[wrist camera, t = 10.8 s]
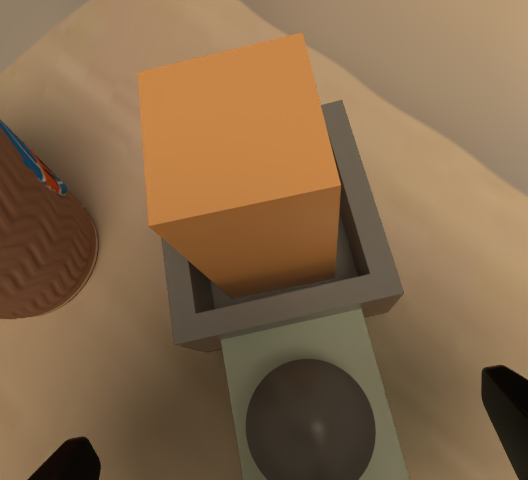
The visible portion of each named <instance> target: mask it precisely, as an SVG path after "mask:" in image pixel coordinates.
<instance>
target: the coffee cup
mask: <svg viewBox="0 0 528 480" xmlns="http://www.w3.org/2000/svg"><path fill="white" fill-rule="evenodd" d="M97 252H98V238H97V233H96V228H95V226H94V224H93V222H92V220H91V218H90V217H89V216H88V214H87V213H86V211H85V209H84V208H83V207H82V206H81V203H80V202H79V201H78V200H77V199H76V198H75V197H74V196H73V195H72V194H71V193H70V192H69V191H68V190H67V187H66V186H65V184H64V183H63V182H62V181H61V180H60V179H58V178H57V177H56V175H55V174H54V173H53V172H52V171H51V170H50V169H49V168H48V167H47V166H46V165H45V164H44V163H43V162H42V161H41V160H40V159H39V158H38V157H37V156H36V155H35V154H34V153H33V152H32V151H31V150H30V149H29V148H28V147H27V146H26V145H25V144H24V143H23V142H22V141H21V140H20V139H19V138H18V137H17V136H16V135H15V134H14V133H13V132H12V131H11V130H10V129H9V128H8V127H7V126H6V125H5V124H4V123H3V122H2V121H1V120H0V319H17V318H25V317H33V316H38V315H44V314H46V313H49V312H52V311H54V310H56V309H58V308H60V307H61V306H63V305H65V304H66V303H67V302H68V301H70V300H71V299H72V298H73V297H74V296H75V295H76V294H77V293H78V292H79V291H80V290H81V288H82V287H83V286H84V285H85V283H86V281H87V280H88V278H89V276H90V275H91V273H92V270H93V267H94V265H95V262H96V257H97Z"/></svg>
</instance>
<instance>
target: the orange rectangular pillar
mask: <svg viewBox="0 0 528 480" xmlns="http://www.w3.org/2000/svg"><path fill="white" fill-rule="evenodd" d="M138 86H139V100H140V114H141V128H142V141H143V155H144V169H145V183H146V196H147V210H148V224H149V227H150V228H152V229H153V230H154V231H155V232H156V233H157V234H158V235H160V236H161V237H162V238H163V239H164V240H165V241H166V242H168V243H169V244H170V245H171V246H172V247H173V248H174V249H176V250H177V251H178V252H179V253H180V254H181V255H182V256H184V257H185V258H186V259H187V260H188V261H189V262H190V263H192V264H193V265H194V266H195V267H196V268H197V269H198V270H200V271H201V272H202V273H203V274H204V275H205V276H206V277H208V278H209V279H210V280H211V281H212V282H213V283H215V284H216V285H217V286H218V287H219V288H220V289H221V290H223V291H224V292H225V293H226V294H227V295H228V296H229V297H231V298H232V299H233V298H238V297H243V296H249V295H254V294H259V293H264V292H269V291H274V290H280V289H285V288H290V287H295V286H300V285H306V284H311V283H316V282H321V281H326V280H331V279H335V267H336V252H337V238H338V223H339V208H340V194H341V183H340V179H339V175H338V171H337V167H336V163H335V159H334V155H333V151H332V148H331V144H330V140H329V136H328V132H327V128H326V124H325V120H324V116H323V112H322V108H321V104H320V100H319V96H318V92H317V88H316V84H315V80H314V76H313V72H312V68H311V64H310V61H309V57H308V53H307V49H306V45H305V41H304V37H303V33H299V34H294V35H290V36H286V37H282V38H278V39H274V40H270V41H266V42H261V43H257V44H253V45H249V46H245V47H241V48H237V49H233V50H228V51H224V52H220V53H216V54H212V55H208V56H204V57H200V58H196V59H191V60H187V61H183V62H179V63H175V64H171V65H167V66H163V67H159V68H154V69H150V70H146V71H142V72H138Z"/></svg>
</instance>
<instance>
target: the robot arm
mask: <svg viewBox="0 0 528 480" xmlns="http://www.w3.org/2000/svg"><path fill="white" fill-rule="evenodd" d="M481 395H482V401H483V404H484V407H485V409H486V411H487V413H488V415H489V417H490V420H491V422H492V424H493V426H494V428H495V430H496V432H497V435H498V437H499V439H500V441H501V443H502V445H503V447H504V450H505V452H506V454H507V456H508V458H509V460H510V462H511V465H512V467H513V469H514V471H515V473H516V475H517V477H518V479H519V480H528V380H527V379H526V378H524V377H522V376H521V375H519V374H518V373H516V372H514V371H513V370H511V369H509V368H508V367H506V366H503V365H496V366H491V367H485V368H483V370H482V389H481ZM100 470H101V464H100V460H99V457H98V456H97V454H96V452H95V450H94V449H93V447H92V445H91V443H90V442H89V440H88V439H87V438H86V437H78V438H72V439H68V440H67V441H65V442H64V443H63V444H62V445H61V446H60V447H59V448H58V449H57V450H56V451H55V452H54V453H53V454H52V455H51V456H50V457H49V458H48V459H47V460H46V461H45V462H44V463H43V464H42V465H41V466H40V467H39V468H38V469H37V470H36V471H35V472H34V473H33V474H32V476H31V477H30V478H29V479H28V480H99V476H100Z"/></svg>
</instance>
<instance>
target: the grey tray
mask: <svg viewBox="0 0 528 480" xmlns="http://www.w3.org/2000/svg"><path fill="white" fill-rule="evenodd" d="M321 108H322V112H323V116H324V120H325V124H326V128H327V132H328V136H329V140H330V144H331V148H332V151H333V155H334V159H335V163H336V167H337V171H338V175H339V179H340V183H341V194H340V208H339V223H338V238H337V252H336V267H335V279H331V280H326V281H321V282H316V283H311V284H306V285H300V286H295V287H290V288H285V289H280V290H274V291H269V292H264V293H259V294H254V295H249V296H243V297H238V298H233V299H232V298H231V297H229V296H228V295H227V294H226V293H225V292H224V291H223V290H221V289H220V288H219V287H218V286H217V285H216V284H215V283H213V282H212V281H211V280H210V279H209V278H208V277H206V276H205V275H204V274H203V273H202V272H201V271H200V270H198V269H197V268H196V267H195V266H194V265H193V264H192V263H190V262H189V261H188V260H187V259H186V258H185V257H184V256H182V255H181V254H180V253H179V252H178V251H177V250H176V249H174V248H173V247H172V246H171V245H170V244H169V243H168V242H166V241H165V240H164V239H163V238H162V246H163V254H164V262H165V271H166V279H167V287H168V296H169V304H170V312H171V320H172V329H173V337H174V345H178V346H182V347H186V348H190V349H194V350H198V351H202V352H210V351H214V350H219V349H222V351H223V357H224V364H225V370H226V376H227V382H228V389H229V395H230V401H231V408H232V414H233V420H234V427H235V433H236V439H237V445H238V452H239V458H240V464H241V471H242V477H243V480H410V479H409V476H408V472H407V469H406V465H405V461H404V458H403V454H402V451H401V447H400V444H399V440H398V437H397V433H396V429H395V426H394V422H393V419H392V415H391V412H390V408H389V405H388V401H387V397H386V394H385V390H384V387H383V383H382V380H381V376H380V373H379V369H378V365H377V362H376V358H375V355H374V351H373V348H372V344H371V341H370V337H369V333H368V330H367V326H366V323H365V319H364V317H368V316H373V315H377V314H382V313H386V312H388V311H389V310H390V309H391V308H392V307H393V306H394V304H395V303H396V302H397V301H398V300H399V299H400V297H401V296H402V295H403V294H404V291H403V288H402V285H401V282H400V279H399V276H398V273H397V270H396V267H395V263H394V260H393V257H392V254H391V251H390V248H389V245H388V242H387V239H386V235H385V232H384V229H383V226H382V223H381V220H380V217H379V214H378V211H377V207H376V204H375V201H374V198H373V195H372V192H371V189H370V186H369V183H368V179H367V176H366V173H365V170H364V167H363V164H362V161H361V158H360V155H359V151H358V148H357V145H356V142H355V139H354V136H353V133H352V130H351V127H350V123H349V120H348V117H347V114H346V111H345V108H344V105H343V102H342V100H340V101H336V102H332V103H328V104H324V105H321Z"/></svg>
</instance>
